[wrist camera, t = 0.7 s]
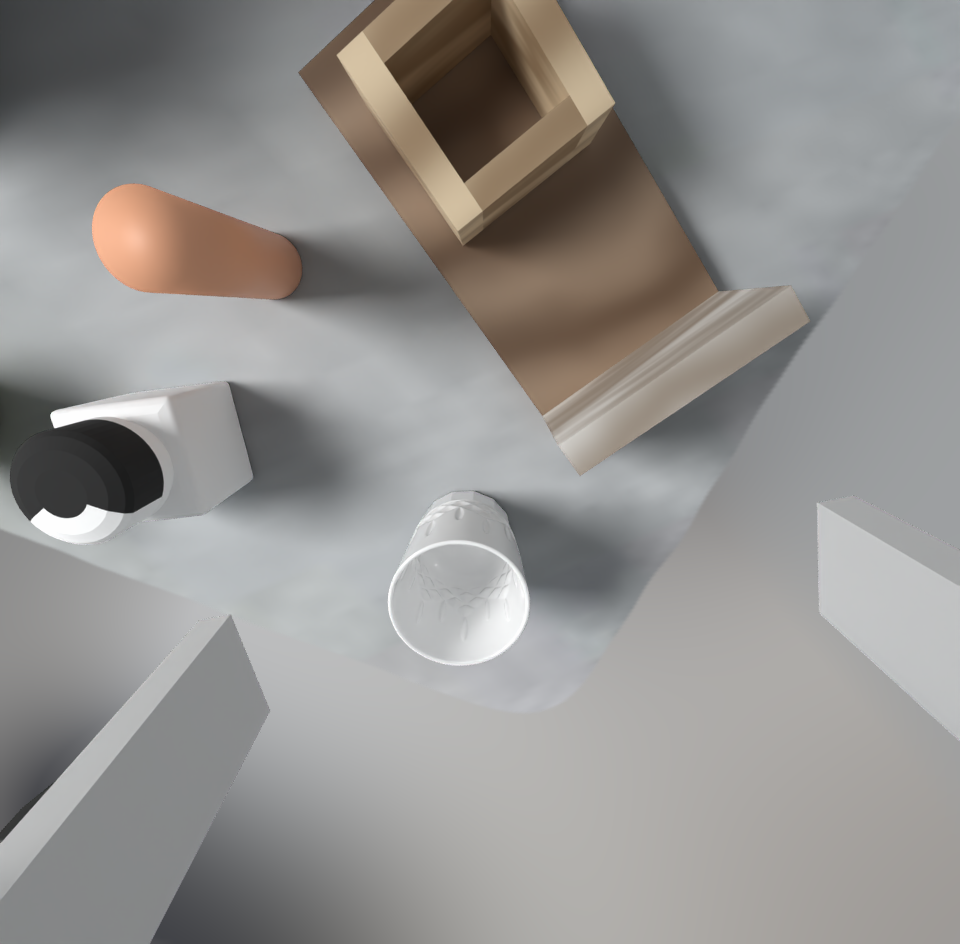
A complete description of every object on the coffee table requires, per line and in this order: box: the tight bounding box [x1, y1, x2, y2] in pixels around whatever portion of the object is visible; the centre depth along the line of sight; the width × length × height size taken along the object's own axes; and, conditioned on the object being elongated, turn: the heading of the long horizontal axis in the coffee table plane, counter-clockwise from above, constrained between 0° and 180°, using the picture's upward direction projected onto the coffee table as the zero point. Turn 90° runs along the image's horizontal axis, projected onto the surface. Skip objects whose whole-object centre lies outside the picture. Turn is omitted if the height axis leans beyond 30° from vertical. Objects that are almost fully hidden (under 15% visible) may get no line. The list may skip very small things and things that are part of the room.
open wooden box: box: [337, 0, 615, 246], centre depth 27 cm, size 9×9×6 cm
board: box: [298, 0, 810, 476], centre depth 28 cm, size 26×13×10 cm, turn 36°
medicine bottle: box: [10, 381, 253, 545], centre depth 31 cm, size 7×7×12 cm
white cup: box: [388, 491, 530, 666], centre depth 34 cm, size 8×8×10 cm
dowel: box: [92, 184, 302, 299], centre depth 27 cm, size 4×4×13 cm
